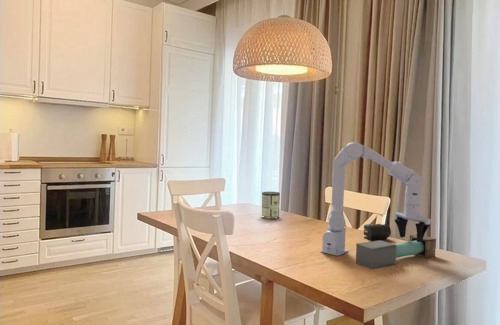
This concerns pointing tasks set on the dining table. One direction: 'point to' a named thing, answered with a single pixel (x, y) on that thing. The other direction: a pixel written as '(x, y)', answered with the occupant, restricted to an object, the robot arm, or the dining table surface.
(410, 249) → the tube
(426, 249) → the socket block
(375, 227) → the end cap
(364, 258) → the grey rectangular box
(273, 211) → the coffee can
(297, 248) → the dining table surface
